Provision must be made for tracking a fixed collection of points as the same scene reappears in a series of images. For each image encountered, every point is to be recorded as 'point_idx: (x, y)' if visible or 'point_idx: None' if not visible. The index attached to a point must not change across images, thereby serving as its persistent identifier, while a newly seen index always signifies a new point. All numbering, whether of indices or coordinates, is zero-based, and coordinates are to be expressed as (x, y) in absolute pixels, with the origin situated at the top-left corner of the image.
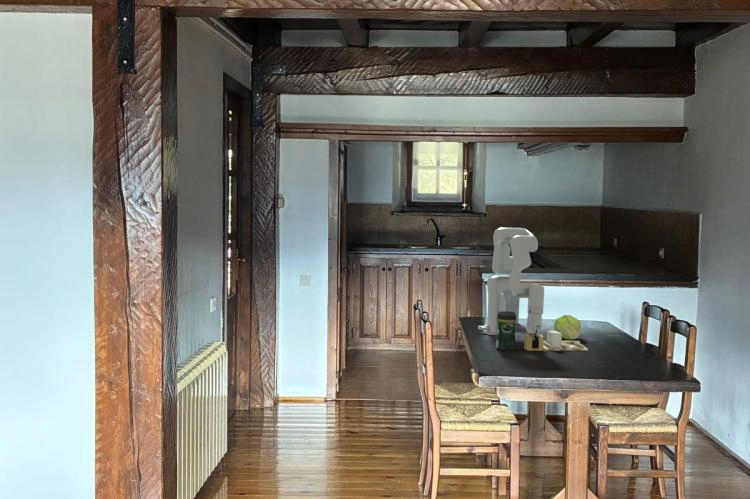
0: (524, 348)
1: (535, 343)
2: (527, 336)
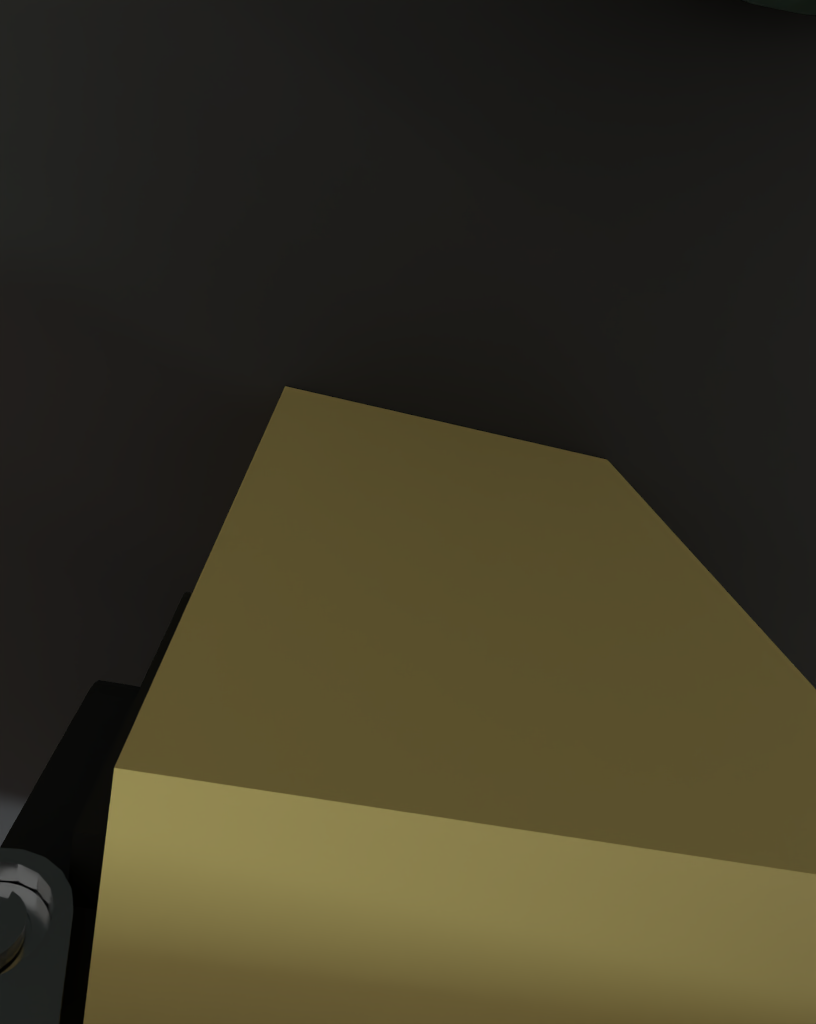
0: (587, 456)
1: (49, 796)
2: (227, 759)
